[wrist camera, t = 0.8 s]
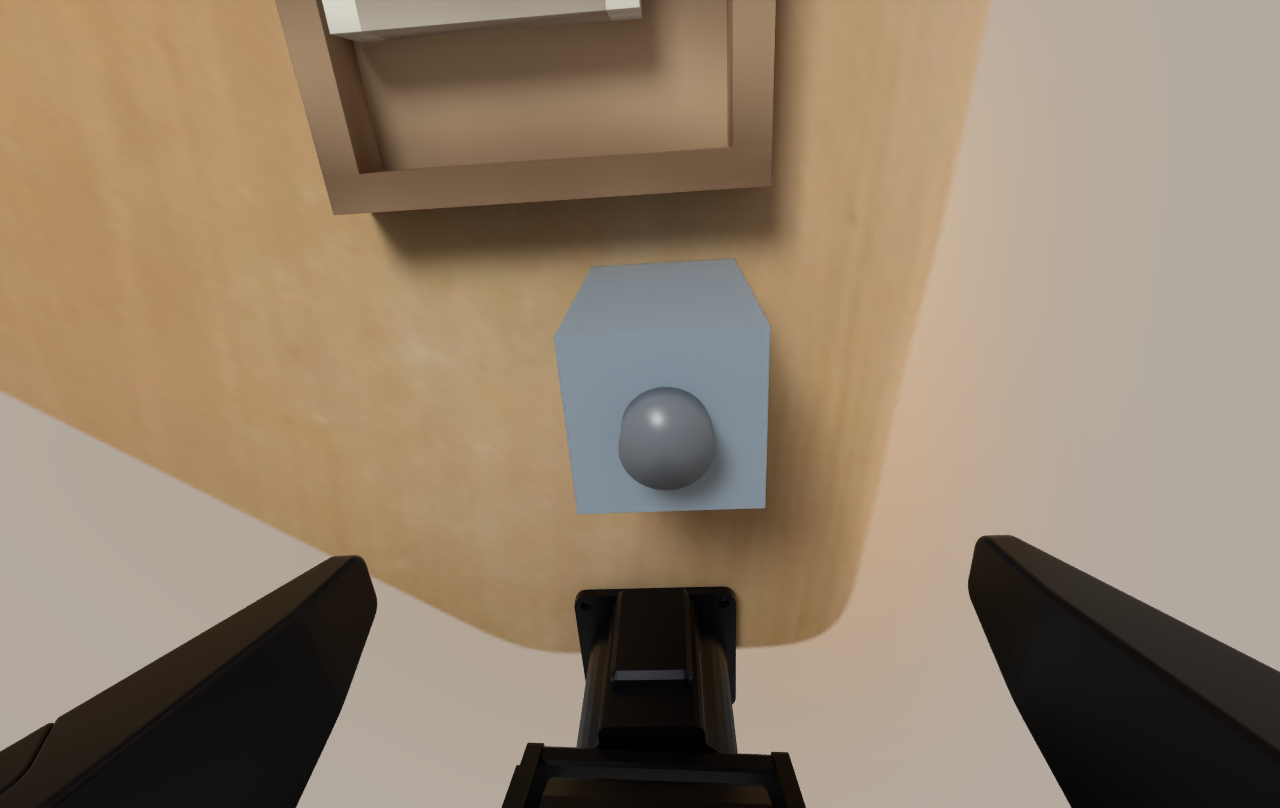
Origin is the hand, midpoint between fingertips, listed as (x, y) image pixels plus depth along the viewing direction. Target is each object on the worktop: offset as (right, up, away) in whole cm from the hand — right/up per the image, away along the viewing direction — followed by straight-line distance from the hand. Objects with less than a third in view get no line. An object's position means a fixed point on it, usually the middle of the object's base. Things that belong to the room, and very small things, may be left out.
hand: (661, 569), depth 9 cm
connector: (+1, +5, +11) cm, 12 cm away
